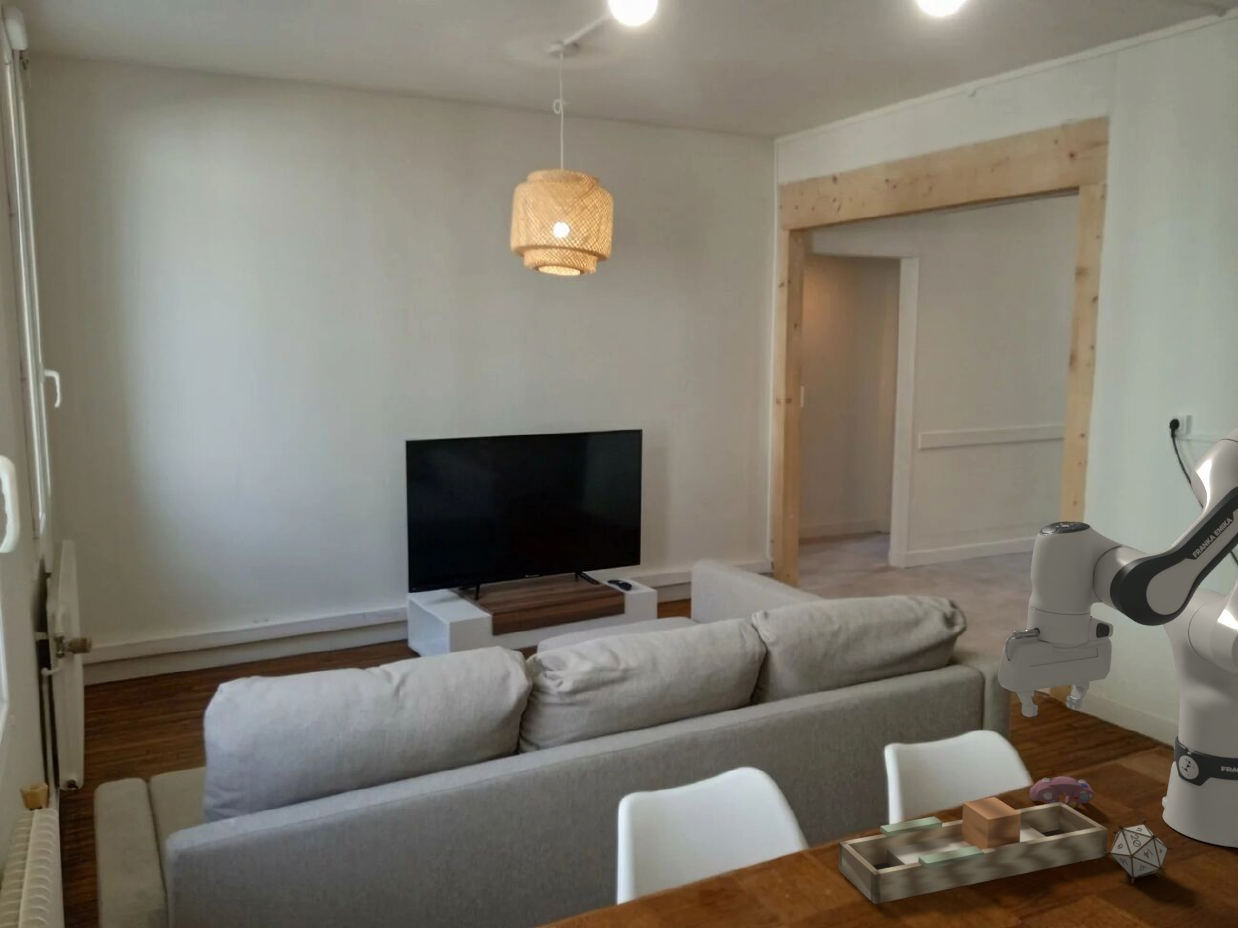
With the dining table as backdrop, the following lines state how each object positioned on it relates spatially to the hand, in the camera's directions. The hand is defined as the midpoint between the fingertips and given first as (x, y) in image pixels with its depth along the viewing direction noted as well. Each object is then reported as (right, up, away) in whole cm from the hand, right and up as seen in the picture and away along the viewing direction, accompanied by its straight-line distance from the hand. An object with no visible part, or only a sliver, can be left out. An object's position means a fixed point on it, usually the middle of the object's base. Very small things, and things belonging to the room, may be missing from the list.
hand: (1051, 711), depth 152 cm
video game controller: (+10, -21, +18) cm, 30 cm away
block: (-10, -21, 0) cm, 23 cm away
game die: (+11, -24, -5) cm, 27 cm away
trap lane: (-13, -23, -1) cm, 27 cm away
